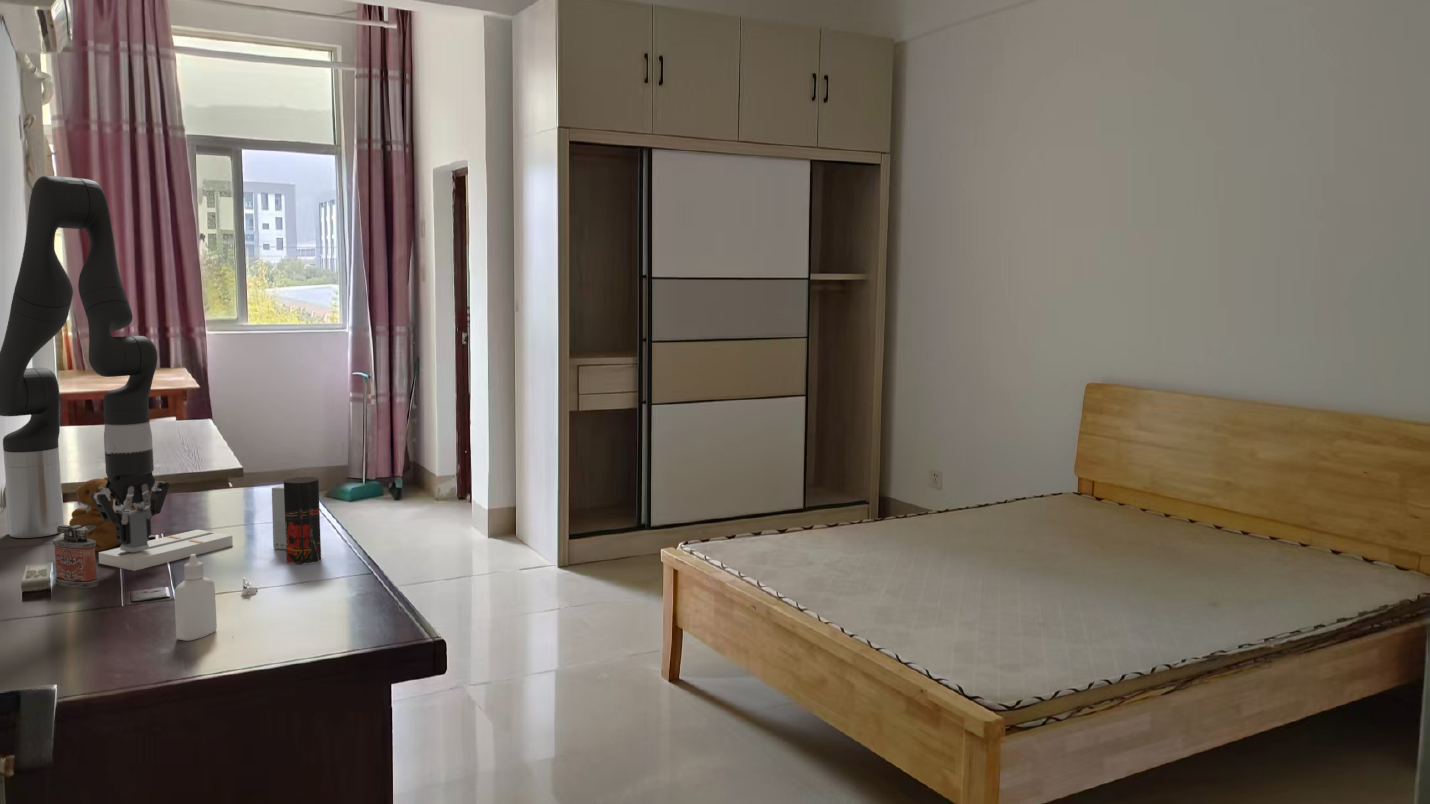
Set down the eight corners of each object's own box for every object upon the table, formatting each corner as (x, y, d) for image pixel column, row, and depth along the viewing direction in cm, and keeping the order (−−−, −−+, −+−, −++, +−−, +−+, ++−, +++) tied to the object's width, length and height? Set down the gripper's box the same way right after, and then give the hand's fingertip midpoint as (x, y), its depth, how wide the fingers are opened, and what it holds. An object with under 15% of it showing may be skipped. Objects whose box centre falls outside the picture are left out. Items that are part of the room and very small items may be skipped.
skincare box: (292, 550, 197) (290, 488, 195) (272, 549, 198) (270, 487, 196) (311, 542, 203) (309, 482, 201) (291, 541, 204) (289, 481, 202)
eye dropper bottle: (172, 635, 150) (168, 554, 148) (213, 627, 153) (210, 548, 152) (179, 643, 146) (175, 561, 145) (221, 635, 150) (218, 554, 149)
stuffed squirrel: (79, 541, 202) (75, 475, 201) (159, 536, 207) (156, 471, 205) (65, 554, 193) (60, 484, 191) (149, 548, 197) (146, 480, 196)
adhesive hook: (241, 594, 171) (240, 575, 170) (258, 592, 172) (257, 574, 171) (240, 599, 168) (240, 581, 168) (258, 598, 169) (257, 579, 169)
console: (99, 563, 187) (98, 551, 186) (198, 539, 204) (197, 528, 204) (134, 570, 182) (133, 559, 182) (232, 545, 200) (232, 534, 200)
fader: (120, 550, 187) (118, 513, 186) (136, 546, 189) (134, 510, 189) (133, 552, 185) (130, 515, 184) (148, 548, 188) (146, 512, 187)
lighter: (103, 583, 175) (100, 525, 173) (85, 588, 171) (82, 530, 170) (68, 578, 177) (64, 521, 176) (50, 583, 174) (46, 525, 173)
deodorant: (280, 559, 190) (277, 479, 188) (312, 553, 194) (309, 475, 193) (295, 566, 186) (292, 484, 184) (327, 559, 190) (324, 480, 189)
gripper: (152, 440, 193) (156, 531, 195) (76, 451, 180) (82, 547, 182) (178, 444, 189) (183, 535, 192) (103, 455, 177) (109, 553, 179)
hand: (134, 541), depth 187 cm, fingers closed on fader, 3 cm apart
